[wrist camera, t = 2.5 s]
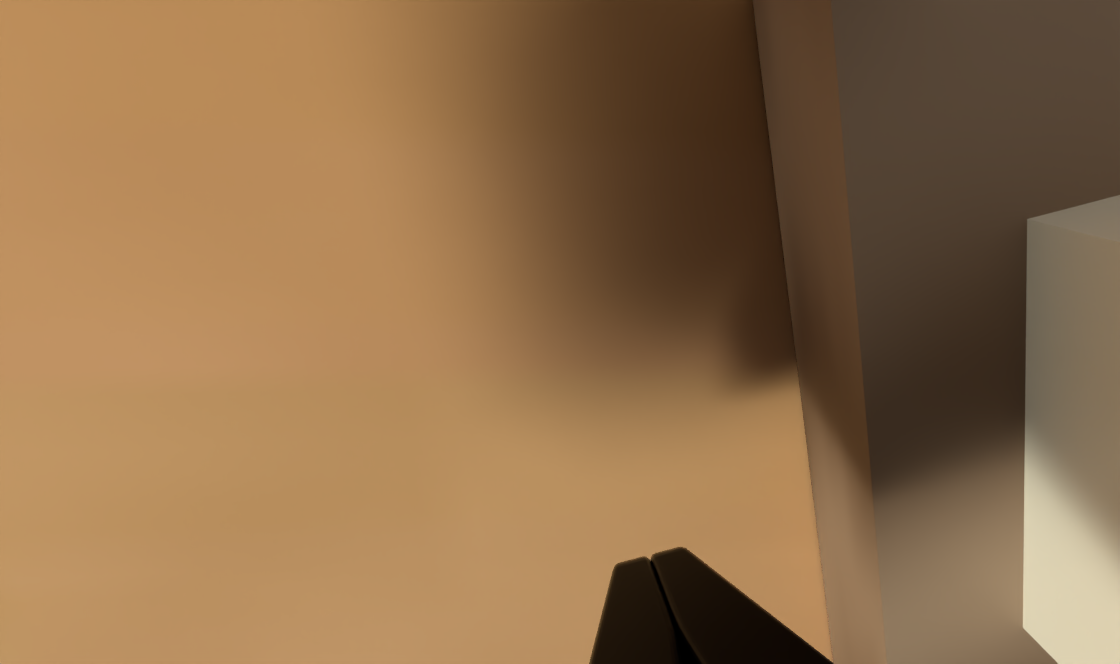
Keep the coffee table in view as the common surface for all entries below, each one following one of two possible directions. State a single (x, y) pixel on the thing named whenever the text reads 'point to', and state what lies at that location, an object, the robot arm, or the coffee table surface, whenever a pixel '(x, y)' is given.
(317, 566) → the coffee table surface
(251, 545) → the coffee table surface
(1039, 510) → the tile
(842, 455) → the plate
